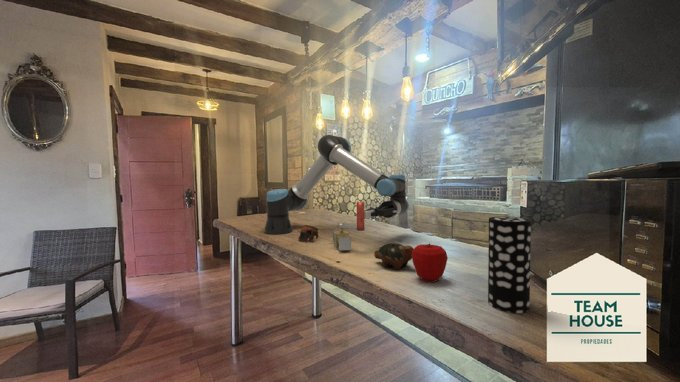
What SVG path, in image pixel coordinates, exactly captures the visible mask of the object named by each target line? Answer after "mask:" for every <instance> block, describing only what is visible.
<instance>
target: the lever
mask: <svg viewBox="0 0 680 382" xmlns="http://www.w3.org/2000/svg"><path fill="white" fill-rule="evenodd" d="M355 205H356V225H349V224H345V223H342V222H341V223H337V227H338V228H339V227H343V229H348V230H353V231H358V232H362V231H365V219H364V212H365V202H364V201H357V202H356V204H355Z"/></svg>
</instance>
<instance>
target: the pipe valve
mask: <svg viewBox="0 0 680 382" xmlns="http://www.w3.org/2000/svg"><path fill="white" fill-rule="evenodd" d="M332 241H333V246H334V248H335V249H336V250H337V251H338V252H350V251H352V237H350V233H349V232H348V231H347V230H344V228H343V227H338V229H332Z"/></svg>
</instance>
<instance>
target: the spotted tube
mask: <svg viewBox="0 0 680 382" xmlns="http://www.w3.org/2000/svg"><path fill="white" fill-rule="evenodd" d="M531 235H532V219H529V218H527V217H519V216H517V217H516V216H491V217H488V259H487V260H488V262H487V263H488V265H487V266H488V267H487V269H488V271H487V272H488V273H487V274H488V275H487V281H488V283H487V289H488V290H487V303H488V305H489V306H491V307H492V308H494V309H496V310H499V311H502V312H505V313H512V314H524V313H527V312H529V311H530V305H531V304H530V303H531V299H530V298H531V296H530V295H531V255H532V254H531V251H532V250H531V249H532V248H531V247H532V246H531V245H532V244H531V243H532V242H531V241H532V240H531V239H532V236H531Z"/></svg>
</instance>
